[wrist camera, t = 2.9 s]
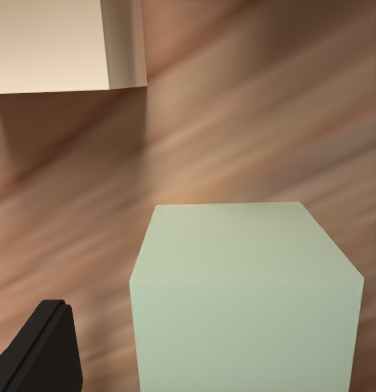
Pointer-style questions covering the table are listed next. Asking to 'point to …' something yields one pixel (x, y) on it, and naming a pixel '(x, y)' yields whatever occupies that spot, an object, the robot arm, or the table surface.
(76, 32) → the maple cube
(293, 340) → the sage cube
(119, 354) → the table surface
